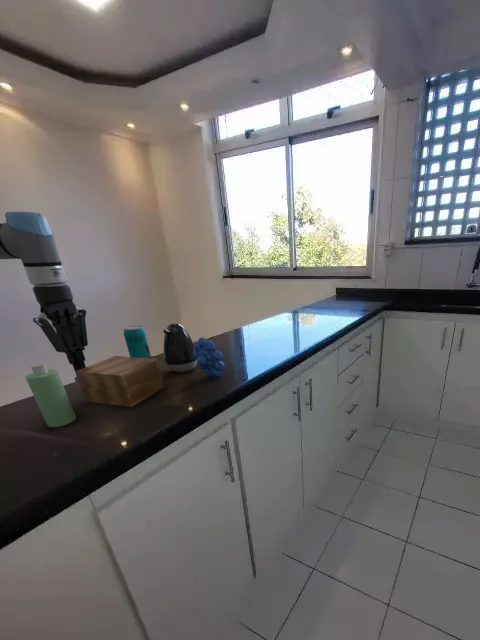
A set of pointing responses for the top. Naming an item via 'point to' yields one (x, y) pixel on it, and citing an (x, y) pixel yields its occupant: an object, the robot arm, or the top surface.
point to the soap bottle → (50, 395)
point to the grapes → (208, 357)
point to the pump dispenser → (178, 349)
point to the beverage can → (136, 342)
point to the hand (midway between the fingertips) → (81, 373)
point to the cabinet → (121, 380)
